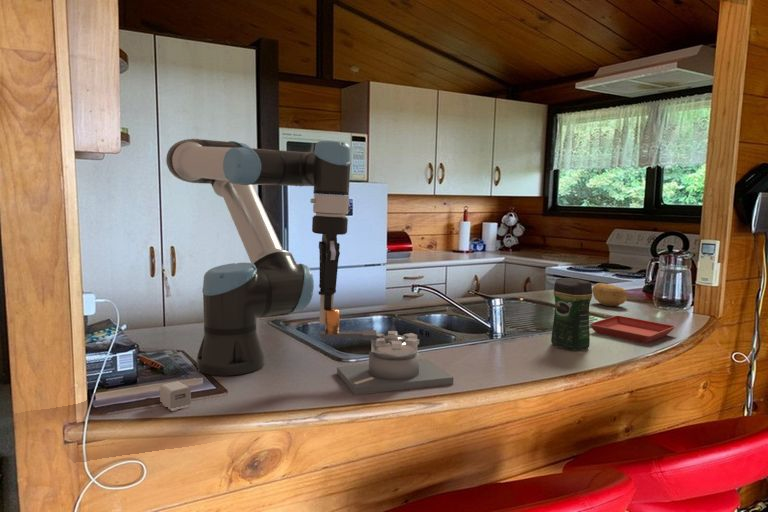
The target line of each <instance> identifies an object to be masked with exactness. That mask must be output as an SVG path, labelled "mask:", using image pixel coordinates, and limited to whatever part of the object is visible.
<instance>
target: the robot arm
mask: <svg viewBox="0 0 768 512" xmlns="http://www.w3.org/2000/svg"><path fill="white" fill-rule="evenodd" d="M165 158H166V160H165V161H166V165H167V169H168V170H169V172H170V173H171V174H172V175H173V177H175V178H176V179H178V180H180V181H183V182H186V183H192V184H210V185H211V186H212V189H213V191H214V194H216V195H217V196H219V197H221V198H223V200H224V203H225V204H226V208H227V210H228V212H229V214H230V216H231V218H232V221H233V223H234V226H235V229H236V230H237V233H238V236H239V238H240V240H241V242H242V245H243V247H244V249H245V251H246V255H247V257H248V259H249V260H250V262H237V263H235V262H233V263H227V264H222V265H218V266H215V267H212V268H210V269H208V270H207V271H206V272H205V273H204V275H203V282H202V283H203V285H202V290H201V291H202V295H203V297H202V299H203V303H202V304H203V337H202V340H201V344H200V346H199V350H198V353H197V356H196V369H197V368H198V369H199V370H200V371H201V372H200V371H199V372H200V373H203V374H206V375H210V376H211V375H212V376H217V377H218V376H221V377H223V376H224V377H225V376H226V377H227V376H238V375H245V374H248V373H250V374H251V373H253V372H255V371H259V370H260V369H262V368H263V367H264V366H265V352H264V350H263V348H262V347H263V346H262V343H261V341H260V339H259V335H258V333H257V318H264V317H270V316H277V315H283V314H293V313H295V312H299V311H300V312H301V311H303V310H305V309H306V308H307V307H308V306H309V304H311V301H312V298H313V294H314V287H315V284H314V283H315V282H314V276H313V273H312V270H311V269H310V267H309V266H308V265H306V264H303V263H298V264H297V261H296V260H295V258H294V255H293V254H292V252H290V251H288V250H284V248H283V247H282V244H281V242H280V240H279V238H278V235H277V233H276V231H275V229H274V227H273V225H272V223H271V220H270V218H269V216H268V214H267V212H266V210H265V207H264V205H263V203H262V200H261V198H260V197H259V194H258V192H257V190H256V188H255V186H257V185H258V186H259V185H260V186H290V187H293V186H294V187H313V198H310V200H309V201H310V203H311V204H313V205H312V212H313V213H314V214H315V215H313V216H312V220H311V221H312V223H311V224H312V225H311V230H312V232H313V233H314V234H319V235H322V236H321V240H320V241H318V250H319V251H318V252H319V284H318V287H319V291H318V295H320V297H319V299H320V301H319V319H318V322H319V324H320V325H325V310H329V309H331V308H334V295H335V294H336V292H337V290H336V289H337V278H338V268H339V260H340V255H341V252H340V249H341V248H340V243H339V242H338V238H337V237H338V235H341V236H342V235H346V234H347V233H348V224H349V223H348V219H349V218H348V217H347V216H346V215H348V214H349V203H350V202H349V201H350V193H349V192H350V179H351V178H350V177H351V164H352V161H351V146H350V145H349V143H346V142H343V141H335V140H334V141H333V140H319V141H317V142H316V143H315V146H314V151H296V150H295V151H293V150H279V149H265V148H254V147H253V148H252V147H251V146H250V145H247V144H246V143H244V142H238V141H235V140H234V141H232V140H230V141H223V140H222V141H221V140H213V139H212V140H211V139H199V138H186V139H183V140H179V141H177V142H175V143H174V144H173V145H171V146H170V147H169V149H168V151H167V153H166V157H165Z"/></svg>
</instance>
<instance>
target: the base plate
mask: <svg viewBox="0 0 768 512" xmlns="http://www.w3.org/2000/svg"><path fill="white" fill-rule="evenodd" d="M336 374H337V375H338V377H339V378H341V381H342V382H344V384H345V385H346V386H347V387H348V388H349V390H350V391H351V392H352V394H353V395H355V396H357V395H365V394H367V395H368V394H373V393H383V392H393V391H402V390H404V391H405V390H411V389H419V388H431V387H438V386H440V387H441V386H448V385H454V376H452V375H451V374H449V373H448V372H447V371H446V370H444V369H443V368H441V367H440V366H438V365H437V364H435V363H433V362H432V361H431V360H430V359H428V358H422V359H421V358H420V353H419V352H418V351H417V355H416V356H415V357H412V358H409V359H401V360H391V359H383V358H379V357H376V356H374V355H372V353H371V351H369V352H368V363H363V364H354V365H343V366H342V365H341V366H336Z"/></svg>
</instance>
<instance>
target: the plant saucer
mask: <svg viewBox="0 0 768 512" xmlns="http://www.w3.org/2000/svg"><path fill="white" fill-rule="evenodd" d="M589 327H590V328H591V329H592V330H593V331H594V333H596V334H599V335H604V336H607V335H608V337H613V338H617V339H621V338H622V340H626V339H627V341H632V342H635V341H636V343H641V344H648V343H651V342H653V341H655V340H658V339H661V338H663V337H665V336H667V335H669V334H670V333H671V332H672V331H673V330H674V329H675V328H676V326H675V325H670V324H667V323H666V324H665V323H661V322H655V321H649V320H645V319H639V318H633V317H627V316H622V315H614V316H610V317H607V318H604V319H603V318H602V319H600V320H597V321H594V322H589Z"/></svg>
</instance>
